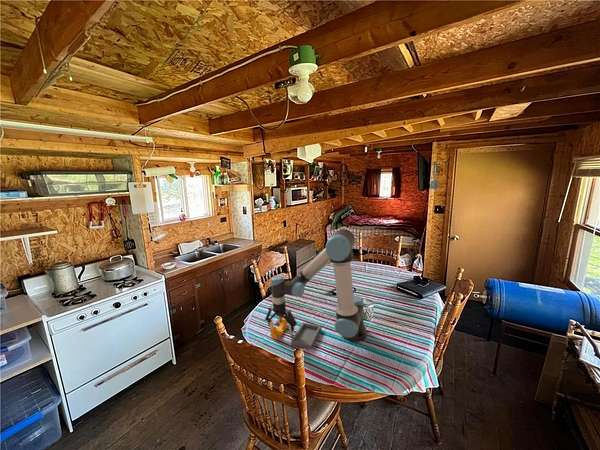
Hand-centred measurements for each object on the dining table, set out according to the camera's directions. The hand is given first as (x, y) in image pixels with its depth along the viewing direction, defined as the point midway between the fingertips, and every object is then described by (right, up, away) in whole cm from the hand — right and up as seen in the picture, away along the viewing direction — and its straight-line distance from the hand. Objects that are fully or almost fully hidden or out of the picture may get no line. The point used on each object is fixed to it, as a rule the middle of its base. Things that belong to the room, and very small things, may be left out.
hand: (281, 333), depth 149 cm
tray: (+15, 0, -5) cm, 16 cm away
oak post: (-1, +2, +11) cm, 11 cm away
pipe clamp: (-1, 0, +1) cm, 1 cm away
